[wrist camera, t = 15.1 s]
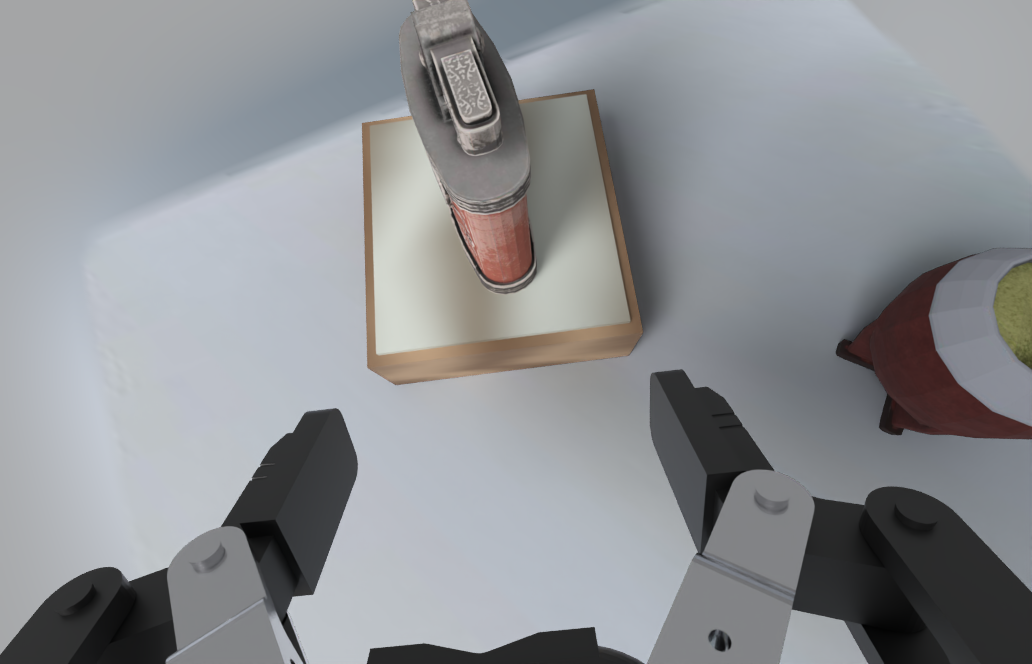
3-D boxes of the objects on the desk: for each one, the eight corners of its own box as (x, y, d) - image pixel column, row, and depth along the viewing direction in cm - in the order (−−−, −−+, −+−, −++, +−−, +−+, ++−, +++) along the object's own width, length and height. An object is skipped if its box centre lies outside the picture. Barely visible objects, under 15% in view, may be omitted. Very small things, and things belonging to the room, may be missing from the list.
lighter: (432, 158, 24) (352, -60, 14) (498, 137, 24) (463, -94, 14) (479, 305, 21) (420, 161, 12) (552, 281, 21) (553, 119, 12)
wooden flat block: (588, 141, 28) (594, 84, 24) (628, 355, 24) (644, 330, 20) (387, 170, 29) (359, 118, 25) (395, 385, 25) (365, 366, 21)
